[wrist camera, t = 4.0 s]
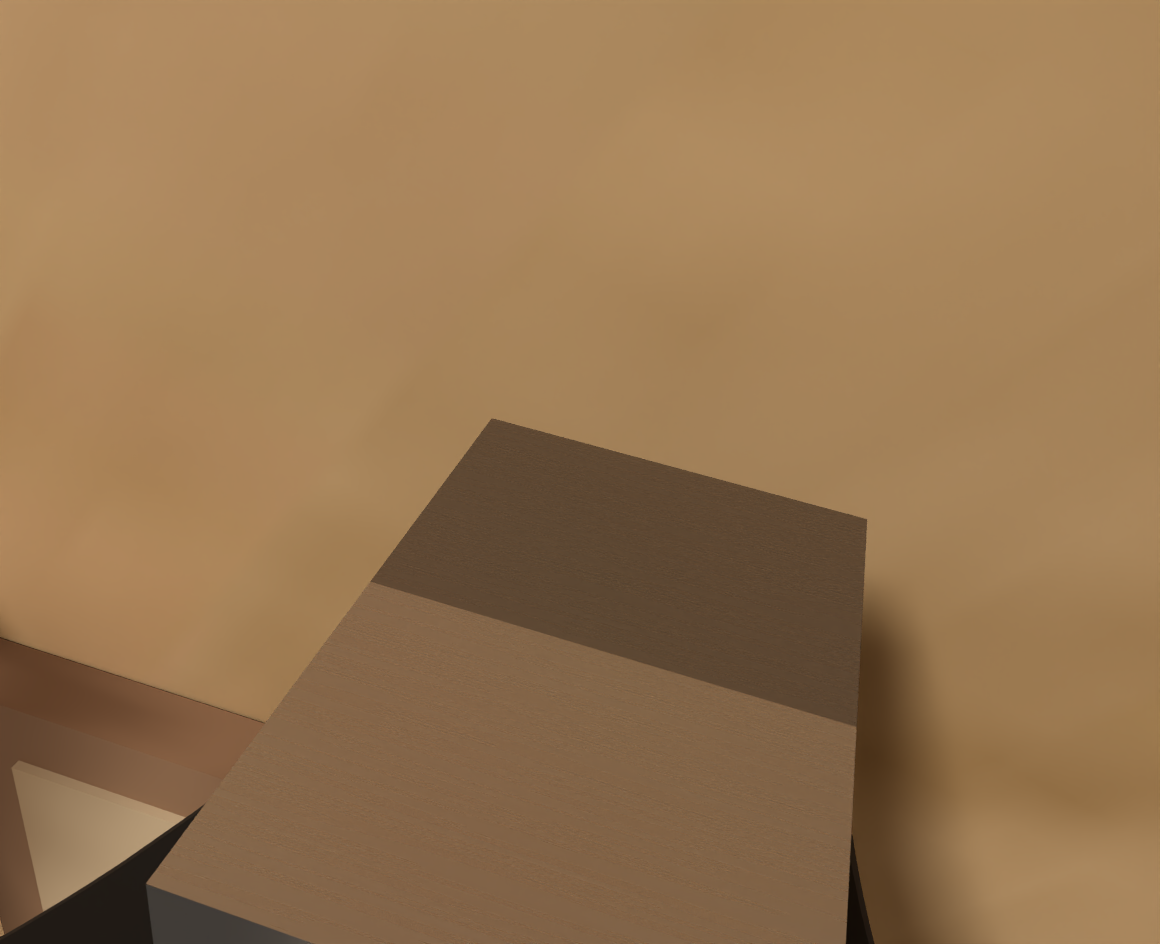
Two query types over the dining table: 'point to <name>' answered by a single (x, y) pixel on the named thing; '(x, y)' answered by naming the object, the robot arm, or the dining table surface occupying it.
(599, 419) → the dining table surface
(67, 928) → the robot arm
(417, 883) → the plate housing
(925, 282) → the dining table surface
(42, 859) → the walnut picture frame
